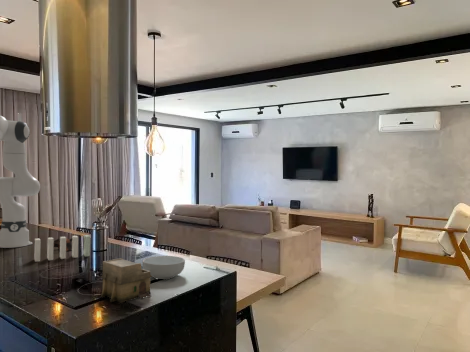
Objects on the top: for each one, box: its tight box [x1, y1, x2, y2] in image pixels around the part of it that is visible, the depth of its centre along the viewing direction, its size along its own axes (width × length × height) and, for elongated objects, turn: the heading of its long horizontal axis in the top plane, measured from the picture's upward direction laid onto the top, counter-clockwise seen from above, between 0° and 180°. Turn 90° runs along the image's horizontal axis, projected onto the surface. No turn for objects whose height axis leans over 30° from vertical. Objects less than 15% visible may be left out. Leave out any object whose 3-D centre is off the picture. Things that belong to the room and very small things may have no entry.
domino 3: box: [59, 236, 67, 260], centre depth 175 cm, size 2×5×10 cm, turn 34°
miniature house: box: [99, 257, 153, 304], centre depth 121 cm, size 15×14×11 cm
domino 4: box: [71, 235, 79, 259], centre depth 178 cm, size 2×5×10 cm, turn 34°
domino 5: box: [82, 234, 91, 258], centre depth 181 cm, size 2×5×10 cm, turn 34°
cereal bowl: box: [142, 255, 186, 280], centre depth 143 cm, size 17×17×7 cm
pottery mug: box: [53, 237, 72, 252], centre depth 194 cm, size 12×10×8 cm
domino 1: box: [33, 237, 42, 262], centre depth 168 cm, size 2×5×10 cm, turn 34°
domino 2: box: [46, 237, 55, 261], centre depth 172 cm, size 2×5×10 cm, turn 34°
